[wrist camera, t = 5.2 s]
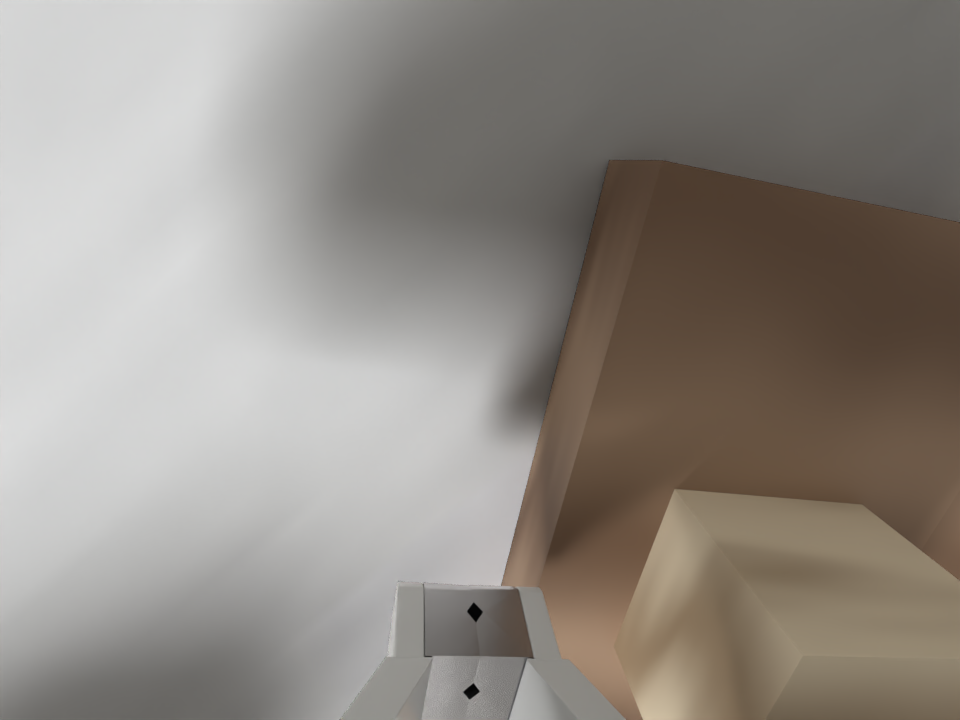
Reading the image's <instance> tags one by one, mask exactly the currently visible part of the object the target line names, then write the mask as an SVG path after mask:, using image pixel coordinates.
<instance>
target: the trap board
mask: <svg viewBox="0 0 960 720" xmlns="http://www.w3.org/2000/svg"><path fill="white" fill-rule="evenodd" d="M674 489H681V490H693V491H705V492H717V493H729V494H741V495H753V496H765V497H777V498H789V499H801V500H813V501H825V502H837V503H849V504H861V505H863V506H865V507H866V508H867V509H868V510H870V511H871V512H872V513H874V514H875V515H876V516H877V517H879V518H880V519H881V520H883V521H884V522H885V523H886V524H888V525H889V526H890V527H891V528H893V529H894V530H895V531H897V532H898V533H899V534H900V535H902V536H903V537H904V538H906V539H907V540H908V541H909V542H911V543H912V544H913V545H914V546H916V547H917V548H918V549H920V550H921V551H922V552H923V553H925V554H926V555H927V556H929V557H930V558H931V559H932V560H934V561H935V562H936V563H938V564H939V565H940V566H941V567H943V568H944V569H945V570H946V571H948V572H949V573H950V574H952V575H953V576H954V577H955V578H957V579H958V580H959V581H960V222H955V221H951V220H946V219H941V218H936V217H932V216H927V215H922V214H917V213H912V212H908V211H903V210H898V209H893V208H888V207H884V206H879V205H874V204H869V203H864V202H860V201H855V200H850V199H845V198H840V197H836V196H831V195H826V194H821V193H816V192H812V191H807V190H802V189H797V188H792V187H788V186H783V185H778V184H773V183H769V182H764V181H759V180H754V179H749V178H745V177H740V176H735V175H730V174H725V173H721V172H716V171H711V170H706V169H701V168H697V167H692V166H687V165H682V164H677V163H673V162H668V161H663V160H609V164H608V168H607V172H606V176H605V180H604V183H603V187H602V191H601V195H600V199H599V203H598V207H597V211H596V215H595V219H594V223H593V227H592V231H591V235H590V239H589V242H588V246H587V250H586V254H585V258H584V262H583V266H582V270H581V274H580V278H579V282H578V286H577V290H576V294H575V297H574V301H573V305H572V309H571V313H570V317H569V321H568V325H567V329H566V333H565V337H564V341H563V345H562V349H561V352H560V356H559V360H558V364H557V368H556V372H555V376H554V380H553V384H552V388H551V392H550V396H549V400H548V404H547V407H546V411H545V415H544V419H543V423H542V427H541V431H540V435H539V439H538V443H537V447H536V451H535V455H534V459H533V463H532V466H531V470H530V474H529V478H528V482H527V486H526V490H525V494H524V498H523V502H522V506H521V510H520V514H519V518H518V521H517V525H516V529H515V533H514V537H513V541H512V545H511V549H510V553H509V557H508V561H507V565H506V569H505V573H504V576H503V580H502V584H501V586H514V587H539V588H540V589H541V591H542V592H543V596H544V599H545V603H546V606H547V610H548V613H549V616H550V620H551V623H552V627H553V630H554V634H555V637H556V641H557V644H558V648H559V651H560V654H561V658H562V659H569V660H570V661H571V662H572V663H573V664H574V665H575V666H576V667H577V669H578V670H579V671H580V672H581V673H582V674H583V675H584V676H585V677H586V678H587V679H588V680H589V681H590V682H591V683H592V684H593V685H594V686H595V687H596V689H597V690H598V691H599V692H600V693H601V694H602V695H603V696H604V697H605V698H606V699H607V700H608V701H609V702H610V703H611V704H612V705H613V706H614V707H615V709H616V710H617V711H618V712H619V713H620V714H621V715H622V716H623V717H624V718H625V719H626V720H643V719H642V716H641V714H640V711H639V708H638V706H637V703H636V701H635V698H634V696H633V693H632V691H631V688H630V686H629V683H628V681H627V678H626V676H625V673H624V671H623V668H622V666H621V663H620V661H619V658H618V656H617V653H616V651H615V648H614V644H615V641H616V639H617V636H618V634H619V631H620V628H621V626H622V623H623V621H624V618H625V616H626V613H627V610H628V608H629V605H630V603H631V600H632V597H633V595H634V592H635V590H636V587H637V585H638V582H639V579H640V577H641V574H642V572H643V569H644V567H645V564H646V561H647V559H648V556H649V554H650V551H651V548H652V546H653V543H654V541H655V538H656V536H657V533H658V530H659V528H660V525H661V523H662V520H663V517H664V515H665V512H666V510H667V507H668V505H669V502H670V499H671V497H672V494H673V492H674Z"/></svg>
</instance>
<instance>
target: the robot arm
mask: <svg viewBox="0 0 960 720" xmlns="http://www.w3.org/2000/svg"><path fill="white" fill-rule="evenodd" d="M340 720H626V719H625V718H624V717H623V716H622V715H621V714H620V713H619V712H618V711H617V710H616V709H615V707H614V706H613V705H612V704H611V703H610V702H609V701H608V700H607V699H606V698H605V697H604V696H603V695H602V694H601V693H600V692H599V691H598V690H597V689H596V687H595V686H594V685H593V684H592V683H591V682H590V681H589V680H588V679H587V678H586V677H585V676H584V675H583V674H582V673H581V672H580V671H579V670H578V669H577V667H576V666H575V665H574V664H573V663H572V662H571V661H570V660H569V659H562V658H561V654H560V651H559V648H558V644H557V641H556V637H555V634H554V630H553V627H552V623H551V620H550V616H549V613H548V610H547V606H546V603H545V599H544V596H543V592H542V591H541V589H540V588H539V587H514V586H483V585H469V586H467V585H452V584H438V583H423V584H422V583H416V582H401V581H398V583H397V588H396V594H395V601H394V608H393V614H392V621H391V629H390V637H389V646H388V657H385V659H384V660H383V661H382V663H381V664H380V666H379V667H378V668H377V670H376V671H375V672H374V674H373V675H372V676H371V678H370V679H369V681H368V682H367V683H366V685H365V686H364V687H363V689H362V690H361V691H360V693H359V694H358V696H357V697H356V698H355V700H354V701H353V702H352V704H351V705H350V706H349V708H348V709H347V711H346V712H345V713H344V715H343V716H342V717H341V719H340Z"/></svg>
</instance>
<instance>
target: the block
mask: <svg viewBox="0 0 960 720" xmlns="http://www.w3.org/2000/svg"><path fill="white" fill-rule="evenodd" d="M614 648H615V651H616V653H617V656H618V658H619V661H620V663H621V666H622V668H623V671H624V673H625V676H626V678H627V681H628V683H629V686H630V688H631V691H632V693H633V696H634V698H635V701H636V703H637V706H638V708H639V711H640V714H641V716H642V719H643V720H960V581H959V580H958V579H957V578H955V577H954V576H953V575H952V574H950V573H949V572H948V571H946V570H945V569H944V568H943V567H941V566H940V565H939V564H938V563H936V562H935V561H934V560H932V559H931V558H930V557H929V556H927V555H926V554H925V553H923V552H922V551H921V550H920V549H918V548H917V547H916V546H914V545H913V544H912V543H911V542H909V541H908V540H907V539H906V538H904V537H903V536H902V535H900V534H899V533H898V532H897V531H895V530H894V529H893V528H891V527H890V526H889V525H888V524H886V523H885V522H884V521H883V520H881V519H880V518H879V517H877V516H876V515H875V514H874V513H872V512H871V511H870V510H868V509H867V508H866V507H865V506H863V505H861V504H849V503H837V502H825V501H813V500H801V499H789V498H777V497H765V496H753V495H741V494H729V493H717V492H705V491H693V490H681V489H674V492H673V494H672V497H671V499H670V502H669V505H668V507H667V510H666V512H665V515H664V517H663V520H662V523H661V525H660V528H659V530H658V533H657V536H656V538H655V541H654V543H653V546H652V548H651V551H650V554H649V556H648V559H647V561H646V564H645V567H644V569H643V572H642V574H641V577H640V579H639V582H638V585H637V587H636V590H635V592H634V595H633V597H632V600H631V603H630V605H629V608H628V610H627V613H626V616H625V618H624V621H623V623H622V626H621V628H620V631H619V634H618V636H617V639H616V641H615V644H614Z"/></svg>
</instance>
